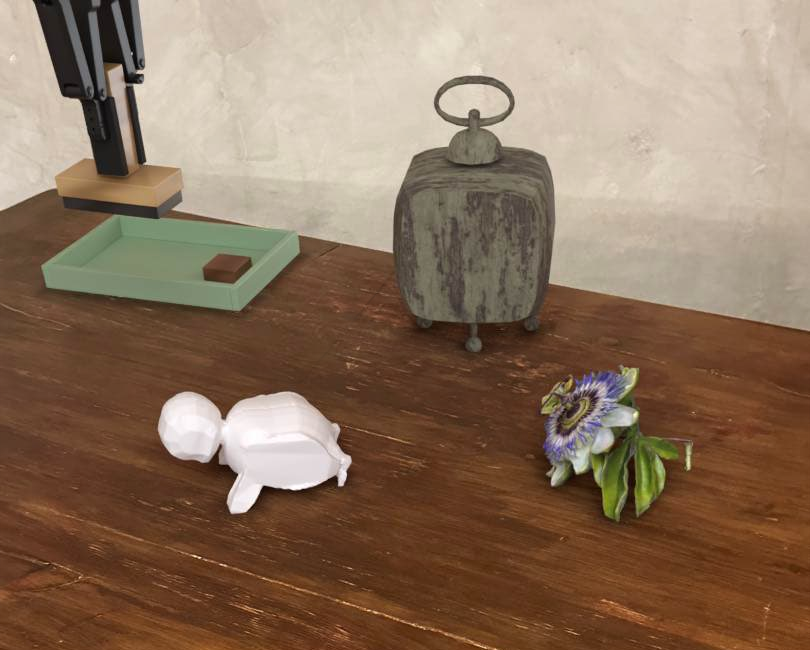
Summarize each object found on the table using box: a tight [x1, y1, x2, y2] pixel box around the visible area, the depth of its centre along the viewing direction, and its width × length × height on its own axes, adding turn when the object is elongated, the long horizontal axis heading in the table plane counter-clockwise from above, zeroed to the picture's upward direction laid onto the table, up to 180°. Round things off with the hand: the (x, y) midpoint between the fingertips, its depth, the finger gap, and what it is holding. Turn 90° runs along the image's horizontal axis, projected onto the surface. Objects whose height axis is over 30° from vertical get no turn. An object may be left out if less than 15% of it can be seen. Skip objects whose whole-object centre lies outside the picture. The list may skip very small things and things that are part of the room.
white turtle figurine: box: [157, 391, 353, 515], centre depth 90 cm, size 8×8×15 cm
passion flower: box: [536, 364, 695, 523], centre depth 88 cm, size 11×11×12 cm
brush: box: [54, 63, 184, 219], centre depth 98 cm, size 10×5×12 cm, turn 71°
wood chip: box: [202, 254, 252, 284], centre depth 123 cm, size 4×4×2 cm
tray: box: [40, 214, 301, 312], centre depth 125 cm, size 24×16×3 cm, turn 71°
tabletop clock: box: [392, 75, 556, 354], centre depth 103 cm, size 14×9×25 cm, turn 82°
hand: (122, 167), depth 100 cm, fingers closed on brush, 2 cm apart
